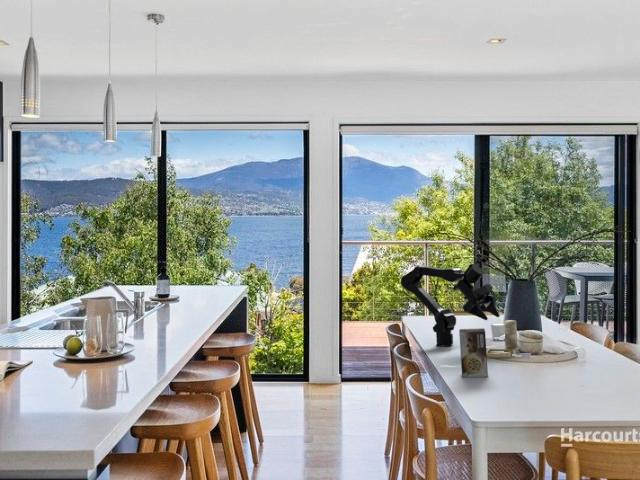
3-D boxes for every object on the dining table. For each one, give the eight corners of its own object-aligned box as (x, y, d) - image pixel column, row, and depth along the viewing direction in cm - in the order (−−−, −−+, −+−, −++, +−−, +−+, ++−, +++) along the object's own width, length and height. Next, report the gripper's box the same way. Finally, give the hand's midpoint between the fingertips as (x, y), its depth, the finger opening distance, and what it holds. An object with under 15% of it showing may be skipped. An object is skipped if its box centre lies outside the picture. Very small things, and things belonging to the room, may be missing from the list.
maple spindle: (503, 351, 272) (501, 322, 272) (504, 348, 278) (503, 319, 277) (518, 351, 270) (517, 322, 270) (519, 349, 275) (518, 319, 275)
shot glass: (507, 340, 301) (506, 325, 300) (491, 340, 302) (491, 325, 302) (506, 338, 307) (505, 322, 307) (491, 338, 309) (490, 323, 309)
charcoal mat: (466, 359, 264) (466, 357, 264) (474, 348, 287) (474, 346, 287) (529, 360, 256) (529, 358, 256) (533, 348, 278) (533, 346, 278)
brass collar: (484, 357, 263) (484, 353, 263) (487, 352, 272) (487, 348, 272) (510, 357, 259) (510, 353, 259) (513, 352, 269) (512, 348, 269)
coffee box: (487, 373, 239) (485, 328, 239) (488, 377, 233) (485, 330, 232) (461, 373, 241) (459, 328, 241) (461, 377, 235) (459, 331, 234)
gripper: (467, 279, 276) (492, 307, 269) (491, 276, 289) (516, 302, 282) (452, 298, 282) (476, 326, 274) (476, 293, 295) (500, 320, 287)
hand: (493, 318), depth 279 cm, fingers open, 9 cm apart
